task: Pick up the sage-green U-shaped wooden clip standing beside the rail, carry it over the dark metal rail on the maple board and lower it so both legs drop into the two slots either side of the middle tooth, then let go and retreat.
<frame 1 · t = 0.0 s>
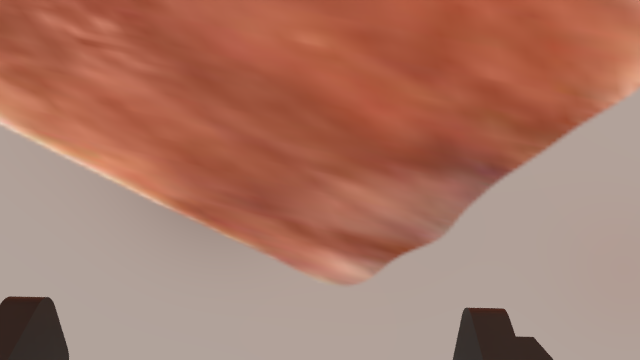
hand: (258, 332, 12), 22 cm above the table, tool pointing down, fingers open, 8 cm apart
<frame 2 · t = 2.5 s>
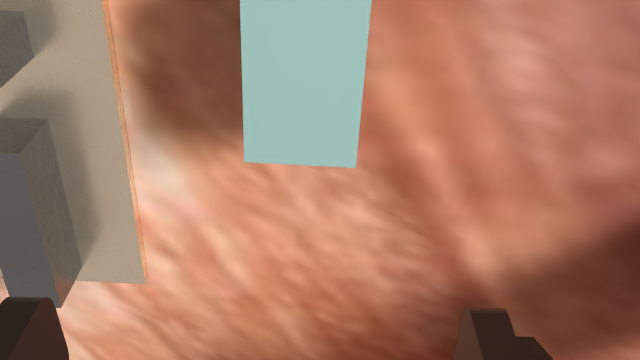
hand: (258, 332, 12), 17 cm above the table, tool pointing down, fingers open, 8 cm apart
clip: (310, 16, 25), on the table
rail: (6, 28, 26), on the table
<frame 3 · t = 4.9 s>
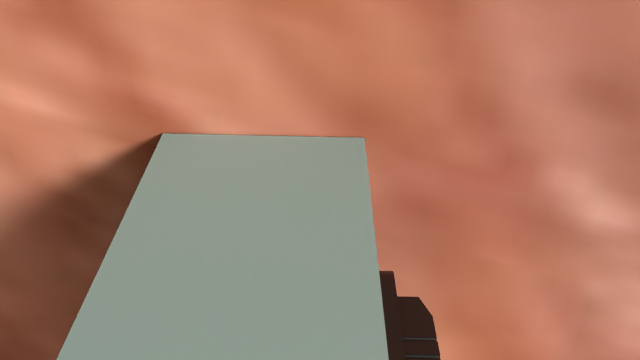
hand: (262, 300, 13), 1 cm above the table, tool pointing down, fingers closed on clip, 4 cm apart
clip: (268, 260, 14), on the table, touching gripper
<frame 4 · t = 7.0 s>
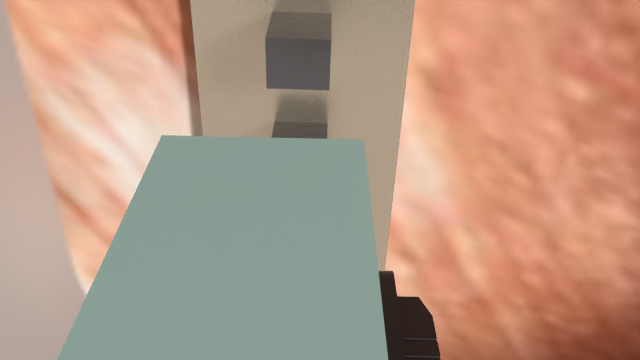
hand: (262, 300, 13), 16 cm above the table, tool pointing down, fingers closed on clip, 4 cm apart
clip: (267, 262, 14), point 14 cm above the table, touching gripper
rail: (302, 31, 25), on the table
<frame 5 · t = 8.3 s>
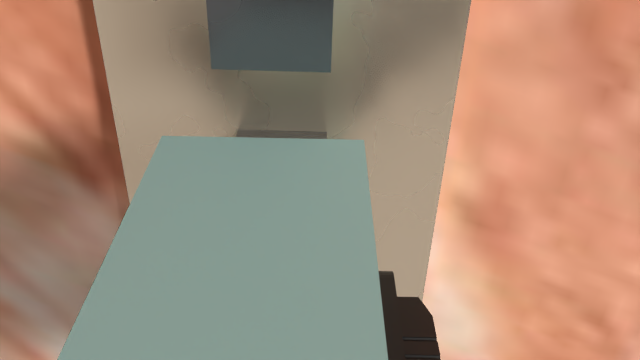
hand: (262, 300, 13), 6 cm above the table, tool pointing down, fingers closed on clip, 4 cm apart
clip: (267, 262, 14), point 5 cm above the table, touching gripper
rail: (284, 151, 17), on the table
when the fingers open (4 cm above the table, at t = 9.4 s): clip drops 2 cm, resting on rail.
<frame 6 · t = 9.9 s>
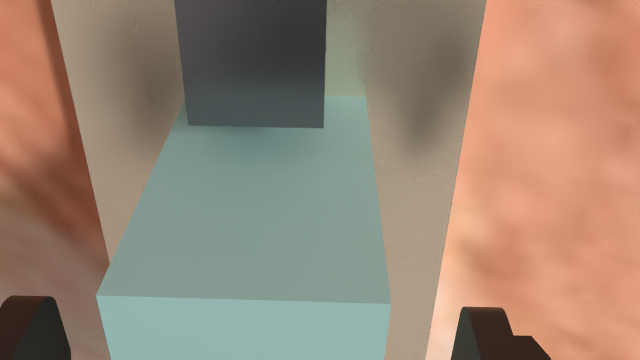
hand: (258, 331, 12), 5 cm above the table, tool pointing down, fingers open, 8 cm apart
clip: (278, 210, 15), point 1 cm above the table, touching rail
rail: (275, 196, 16), on the table
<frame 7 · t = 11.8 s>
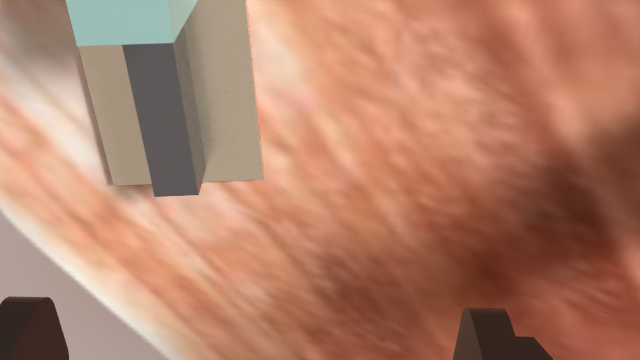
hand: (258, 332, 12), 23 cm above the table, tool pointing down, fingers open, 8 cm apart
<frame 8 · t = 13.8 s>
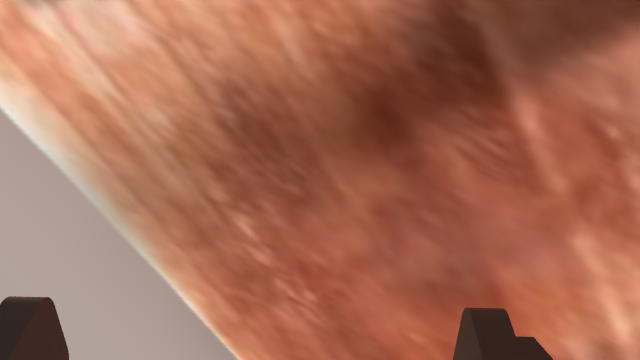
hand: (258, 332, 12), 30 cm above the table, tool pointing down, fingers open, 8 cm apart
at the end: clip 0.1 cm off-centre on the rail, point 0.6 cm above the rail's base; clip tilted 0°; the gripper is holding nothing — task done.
